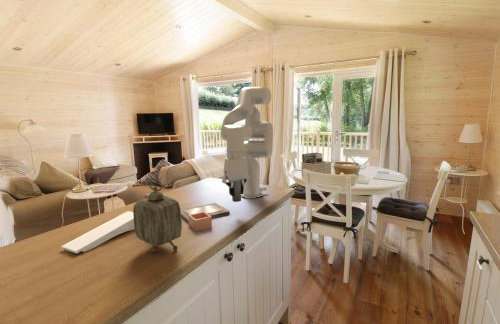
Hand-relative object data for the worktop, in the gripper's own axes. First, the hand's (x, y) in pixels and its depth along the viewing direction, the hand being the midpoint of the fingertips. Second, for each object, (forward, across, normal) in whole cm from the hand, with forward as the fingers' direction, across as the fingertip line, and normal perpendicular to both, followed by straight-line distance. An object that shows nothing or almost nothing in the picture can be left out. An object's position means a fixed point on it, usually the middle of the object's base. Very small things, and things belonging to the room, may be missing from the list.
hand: (236, 194), depth 124 cm
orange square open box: (+10, +19, +2) cm, 21 cm away
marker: (+3, 0, 0) cm, 3 cm away
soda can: (+10, +33, -17) cm, 38 cm away
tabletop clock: (+9, +39, +13) cm, 42 cm away
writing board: (+10, +12, -11) cm, 19 cm away
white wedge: (+10, +53, -9) cm, 54 cm away
